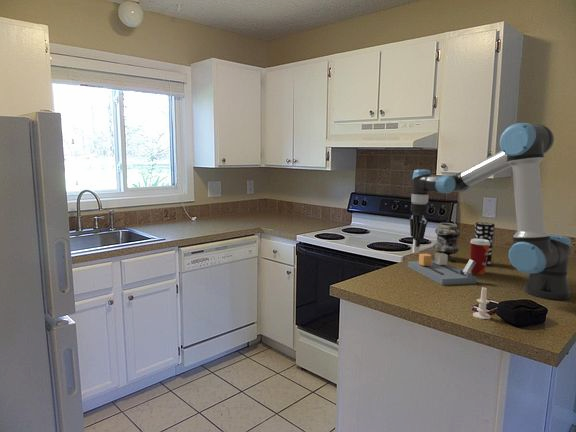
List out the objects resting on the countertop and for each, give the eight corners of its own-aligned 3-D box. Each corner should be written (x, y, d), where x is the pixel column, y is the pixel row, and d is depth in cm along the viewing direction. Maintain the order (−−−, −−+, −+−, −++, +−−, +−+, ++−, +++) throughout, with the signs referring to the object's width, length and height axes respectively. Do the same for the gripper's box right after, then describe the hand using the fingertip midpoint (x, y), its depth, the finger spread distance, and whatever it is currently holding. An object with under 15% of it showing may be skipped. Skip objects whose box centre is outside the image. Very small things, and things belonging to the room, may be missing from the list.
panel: (476, 283, 172) (477, 272, 171) (441, 285, 168) (442, 274, 168) (438, 265, 199) (438, 256, 198) (407, 266, 195) (408, 257, 195)
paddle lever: (468, 276, 172) (476, 262, 172) (465, 275, 172) (474, 260, 172) (463, 274, 175) (471, 260, 175) (460, 272, 175) (469, 258, 175)
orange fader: (431, 265, 187) (431, 255, 186) (423, 265, 186) (423, 256, 185) (426, 263, 191) (427, 253, 190) (418, 263, 190) (419, 253, 189)
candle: (488, 314, 138) (491, 284, 137) (492, 320, 133) (495, 289, 132) (471, 312, 139) (474, 282, 138) (474, 318, 134) (477, 287, 133)
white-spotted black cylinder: (473, 265, 200) (477, 224, 197) (470, 261, 208) (474, 221, 205) (492, 266, 198) (496, 225, 195) (488, 262, 206) (492, 222, 203)
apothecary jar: (460, 262, 205) (463, 226, 202) (435, 261, 207) (437, 225, 204) (454, 256, 217) (457, 222, 214) (430, 255, 219) (433, 221, 216)
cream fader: (447, 264, 188) (447, 255, 188) (439, 265, 188) (439, 255, 187) (442, 262, 192) (442, 252, 192) (434, 262, 191) (434, 253, 191)
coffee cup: (489, 275, 183) (492, 242, 181) (469, 274, 185) (472, 241, 182) (484, 270, 191) (487, 238, 189) (465, 269, 193) (468, 237, 190)
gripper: (434, 205, 186) (430, 256, 190) (419, 201, 199) (415, 249, 203) (419, 205, 185) (415, 256, 188) (405, 201, 197) (401, 249, 201)
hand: (415, 252), depth 196 cm, fingers closed
